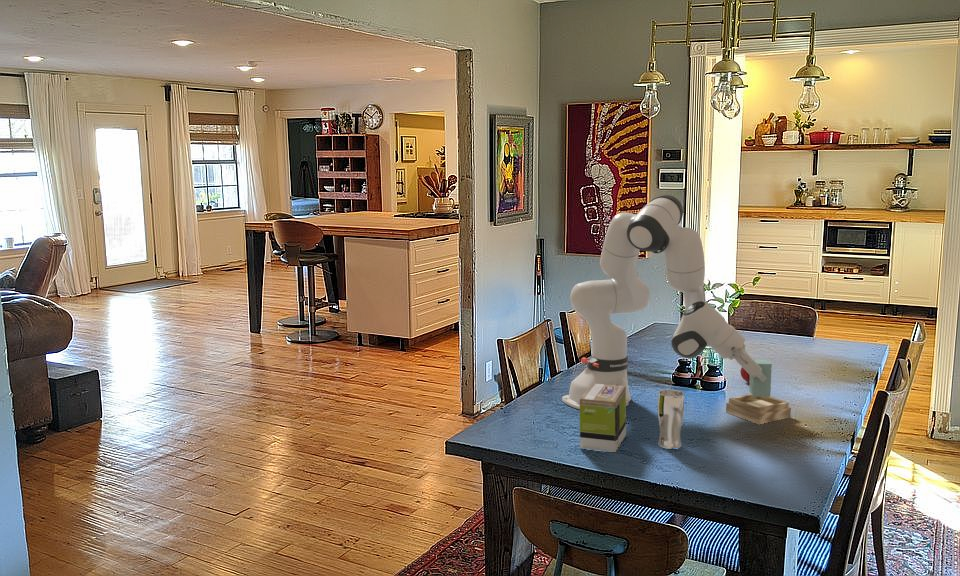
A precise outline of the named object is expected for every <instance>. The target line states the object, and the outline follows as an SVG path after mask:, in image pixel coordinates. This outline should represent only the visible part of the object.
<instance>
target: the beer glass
mask: <svg viewBox="0 0 960 576" xmlns="http://www.w3.org/2000/svg"><path fill="white" fill-rule="evenodd" d="M684 396H685V395H684V392H683V391H681V390H678V389H670V388H669V389H667V388H666V389H662V390H659V391H658V398H657V417H658V424H659V425H658V426H659V437H658V445H659V446H661V447H663V448H669V449H672V448H679V447H682V441H681V440H682V439H681V429H682V425H683V421H684V420H683V419H684V416H685V415H684V414H685V397H684ZM659 446H658V447H659ZM663 448H662V449H663Z"/></svg>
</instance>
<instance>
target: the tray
mask: <svg viewBox="0 0 960 576" xmlns="http://www.w3.org/2000/svg"><path fill="white" fill-rule="evenodd" d="M725 405H726V406H725V413H727V414H730V415H732V416H734V417H737V418H740V419H742V418H743V419H742V420H745V419H746V420H745V421H747V420H748V422H750V421H751V423H753V424H755V423H756V424H755V425H759V426H760V424H761V425H764V423H765V424H768V422H769V423H772V421H773V422H777V420H778V421H782V420H785V418H786V419H789V418H791V416H792V415H791V413H792V407H789V405H790V404H789V402H788V401H784V400H781V399H779V398H775V397H773V396H770V397H755V396H752V395H751V393H746V394H743V395H739V396H733V397H730V398H728V402H726V403H725ZM781 419H782V420H781Z"/></svg>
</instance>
